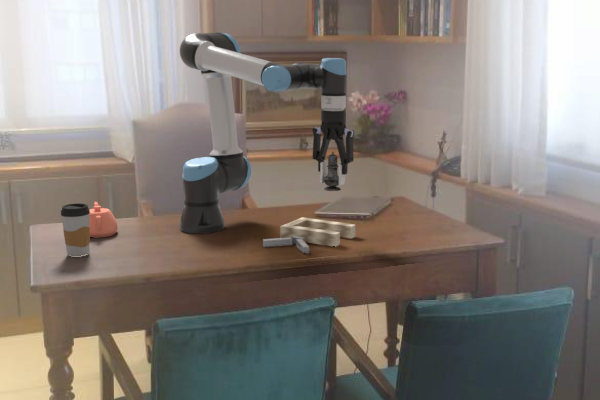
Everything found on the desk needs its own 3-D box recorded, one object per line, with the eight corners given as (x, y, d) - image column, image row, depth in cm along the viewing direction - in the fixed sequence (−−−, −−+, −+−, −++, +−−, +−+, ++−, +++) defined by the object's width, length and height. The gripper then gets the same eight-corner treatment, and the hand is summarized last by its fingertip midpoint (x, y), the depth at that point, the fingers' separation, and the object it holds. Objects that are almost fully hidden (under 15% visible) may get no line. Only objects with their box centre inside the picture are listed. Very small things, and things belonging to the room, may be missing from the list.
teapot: (80, 242, 237) (78, 213, 235) (79, 228, 253) (77, 201, 251) (119, 238, 240) (117, 210, 238) (116, 225, 257) (114, 198, 255)
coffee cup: (82, 249, 228) (78, 201, 225) (98, 254, 223) (95, 205, 220) (58, 255, 222) (54, 206, 219) (74, 260, 217) (70, 210, 214)
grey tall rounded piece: (340, 191, 230) (340, 153, 227) (321, 190, 231) (321, 152, 228) (343, 187, 236) (343, 150, 233) (324, 186, 237) (325, 149, 234)
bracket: (280, 238, 239) (280, 226, 238) (302, 228, 250) (302, 217, 249) (335, 246, 229) (335, 234, 228) (355, 236, 240) (355, 224, 239)
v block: (277, 239, 238) (277, 233, 238) (323, 246, 230) (323, 240, 229) (260, 246, 230) (260, 240, 229) (307, 254, 221) (307, 247, 221)
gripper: (300, 108, 229) (300, 182, 234) (355, 112, 220) (353, 188, 225) (312, 106, 235) (312, 178, 241) (366, 110, 226) (364, 184, 231)
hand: (332, 183), depth 233 cm, fingers closed on grey tall rounded piece, 6 cm apart
